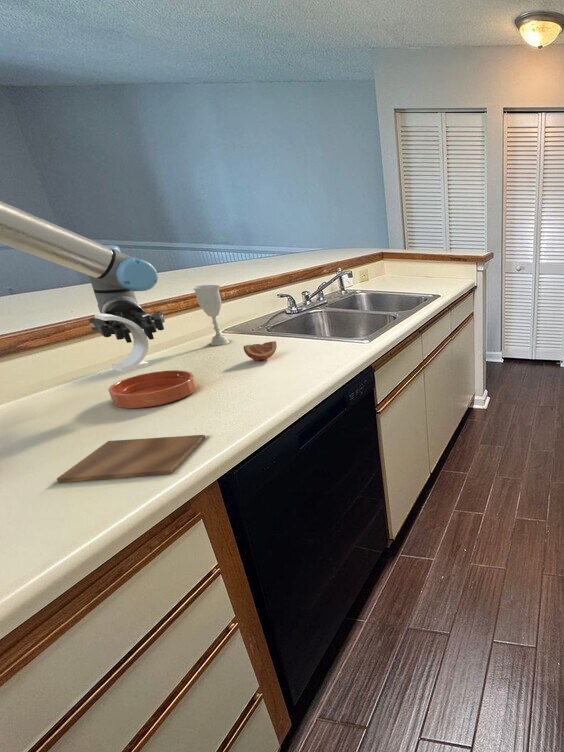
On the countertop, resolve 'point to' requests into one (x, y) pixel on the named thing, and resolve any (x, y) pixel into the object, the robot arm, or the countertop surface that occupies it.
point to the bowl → (152, 389)
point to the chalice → (211, 308)
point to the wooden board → (133, 458)
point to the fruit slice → (260, 350)
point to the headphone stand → (139, 346)
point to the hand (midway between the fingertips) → (138, 334)
